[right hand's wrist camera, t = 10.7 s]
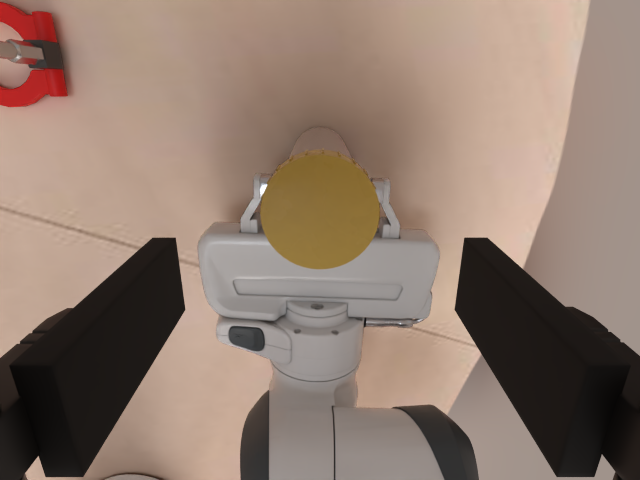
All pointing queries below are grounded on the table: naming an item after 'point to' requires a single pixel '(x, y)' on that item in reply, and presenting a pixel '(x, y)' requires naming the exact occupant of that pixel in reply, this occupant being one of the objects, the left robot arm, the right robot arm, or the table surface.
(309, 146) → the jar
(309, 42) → the table surface
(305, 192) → the lid
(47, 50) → the tow hook
